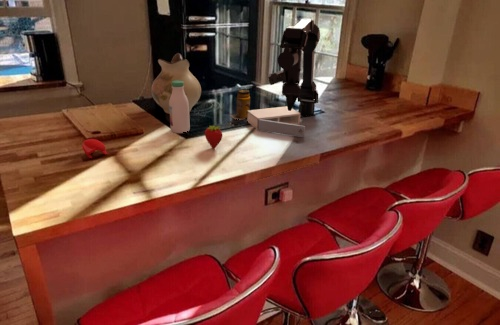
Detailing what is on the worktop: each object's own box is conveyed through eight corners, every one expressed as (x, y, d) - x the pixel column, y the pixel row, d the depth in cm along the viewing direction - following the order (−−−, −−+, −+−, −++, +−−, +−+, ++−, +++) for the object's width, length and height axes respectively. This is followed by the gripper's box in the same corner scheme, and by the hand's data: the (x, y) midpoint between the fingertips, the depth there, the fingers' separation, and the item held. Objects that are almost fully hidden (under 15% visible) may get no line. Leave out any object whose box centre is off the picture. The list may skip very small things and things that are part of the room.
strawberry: (215, 143, 142) (215, 117, 137) (226, 149, 136) (226, 123, 132) (201, 146, 138) (200, 120, 134) (212, 153, 133) (211, 126, 129)
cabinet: (287, 116, 172) (288, 106, 170) (299, 124, 163) (300, 113, 161) (247, 121, 165) (247, 110, 163) (257, 129, 156) (258, 118, 153)
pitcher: (168, 121, 162) (165, 62, 152) (143, 108, 178) (138, 54, 168) (211, 112, 176) (210, 57, 165) (183, 101, 192) (181, 50, 181)
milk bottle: (193, 128, 155) (191, 80, 147) (184, 134, 148) (181, 84, 140) (176, 126, 157) (173, 78, 149) (167, 132, 151) (163, 82, 142)
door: (304, 136, 149) (305, 125, 147) (302, 138, 147) (303, 127, 145) (257, 129, 155) (258, 118, 153) (256, 130, 154) (256, 120, 152)
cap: (79, 152, 123) (94, 142, 123) (78, 140, 127) (93, 131, 127) (96, 165, 129) (111, 155, 129) (94, 153, 133) (108, 144, 133)
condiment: (253, 117, 170) (254, 91, 165) (237, 120, 166) (237, 94, 160) (244, 113, 175) (245, 87, 170) (229, 116, 171) (229, 90, 166)
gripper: (271, 59, 142) (269, 99, 149) (268, 68, 126) (266, 113, 132) (300, 60, 142) (297, 100, 148) (301, 69, 125) (298, 115, 131)
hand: (289, 107), depth 140 cm, fingers open, 9 cm apart
